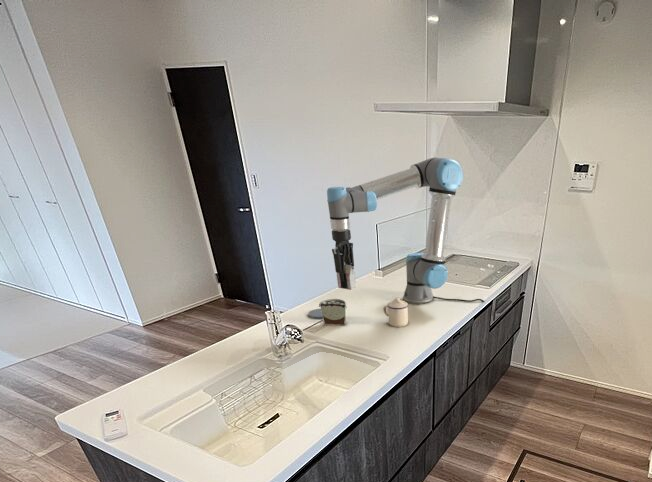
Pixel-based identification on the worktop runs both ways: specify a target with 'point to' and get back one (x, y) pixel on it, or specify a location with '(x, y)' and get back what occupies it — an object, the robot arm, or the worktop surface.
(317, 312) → the saucer
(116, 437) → the worktop surface
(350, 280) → the tea bag
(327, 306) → the food container
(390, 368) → the worktop surface
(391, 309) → the teacup with lid
